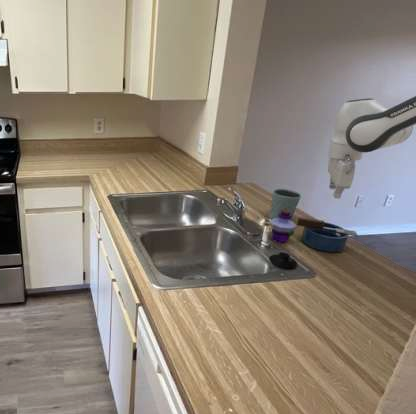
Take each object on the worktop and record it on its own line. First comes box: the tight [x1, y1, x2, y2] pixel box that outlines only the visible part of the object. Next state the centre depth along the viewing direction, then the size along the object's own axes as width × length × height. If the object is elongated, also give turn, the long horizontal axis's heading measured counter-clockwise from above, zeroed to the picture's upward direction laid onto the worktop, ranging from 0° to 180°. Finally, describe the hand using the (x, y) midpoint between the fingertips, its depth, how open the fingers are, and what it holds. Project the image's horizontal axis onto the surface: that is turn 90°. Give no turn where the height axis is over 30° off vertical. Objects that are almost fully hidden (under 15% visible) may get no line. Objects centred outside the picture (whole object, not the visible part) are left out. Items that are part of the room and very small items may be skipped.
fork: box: [296, 216, 359, 237], centre depth 118 cm, size 18×3×3 cm, turn 64°
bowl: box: [300, 221, 350, 253], centre depth 120 cm, size 13×13×6 cm
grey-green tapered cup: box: [268, 188, 302, 222], centre depth 138 cm, size 10×10×12 cm
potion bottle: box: [270, 209, 297, 244], centre depth 122 cm, size 9×9×12 cm
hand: (334, 192), depth 110 cm, fingers open, 8 cm apart
